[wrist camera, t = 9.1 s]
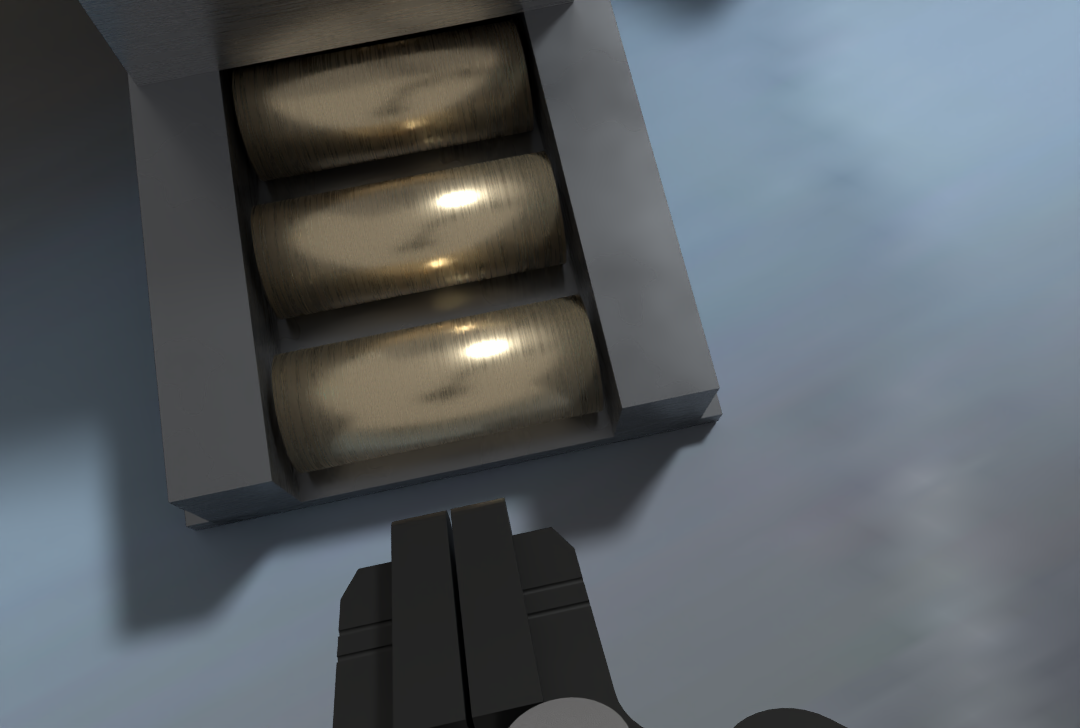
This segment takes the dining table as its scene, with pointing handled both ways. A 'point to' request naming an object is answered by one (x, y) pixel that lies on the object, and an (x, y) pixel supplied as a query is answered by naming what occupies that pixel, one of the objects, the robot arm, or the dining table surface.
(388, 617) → the robot arm
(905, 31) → the dining table surface
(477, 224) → the roller track
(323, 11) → the block
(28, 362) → the dining table surface
